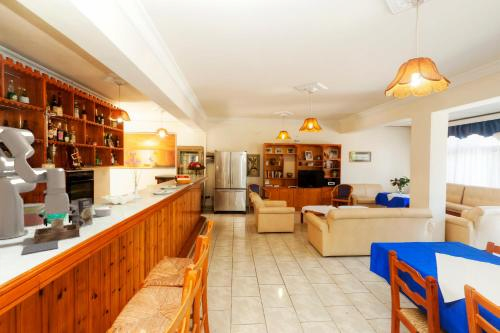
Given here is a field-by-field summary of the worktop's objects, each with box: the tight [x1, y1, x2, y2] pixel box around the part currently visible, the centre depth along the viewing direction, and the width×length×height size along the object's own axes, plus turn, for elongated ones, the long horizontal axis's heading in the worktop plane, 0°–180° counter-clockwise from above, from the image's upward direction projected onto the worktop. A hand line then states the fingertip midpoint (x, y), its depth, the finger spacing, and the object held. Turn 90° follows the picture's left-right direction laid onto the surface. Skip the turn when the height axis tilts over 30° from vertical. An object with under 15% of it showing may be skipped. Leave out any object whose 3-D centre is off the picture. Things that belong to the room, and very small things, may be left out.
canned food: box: [23, 202, 45, 228], centre depth 154 cm, size 11×11×12 cm
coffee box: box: [70, 197, 94, 229], centre depth 150 cm, size 9×6×16 cm
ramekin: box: [93, 206, 113, 218], centre depth 177 cm, size 11×11×5 cm
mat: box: [22, 240, 59, 256], centre depth 115 cm, size 12×12×1 cm
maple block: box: [50, 217, 65, 233], centre depth 130 cm, size 5×5×6 cm
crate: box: [33, 223, 81, 245], centre depth 130 cm, size 18×14×4 cm
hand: (58, 224), depth 130 cm, fingers open, 9 cm apart
